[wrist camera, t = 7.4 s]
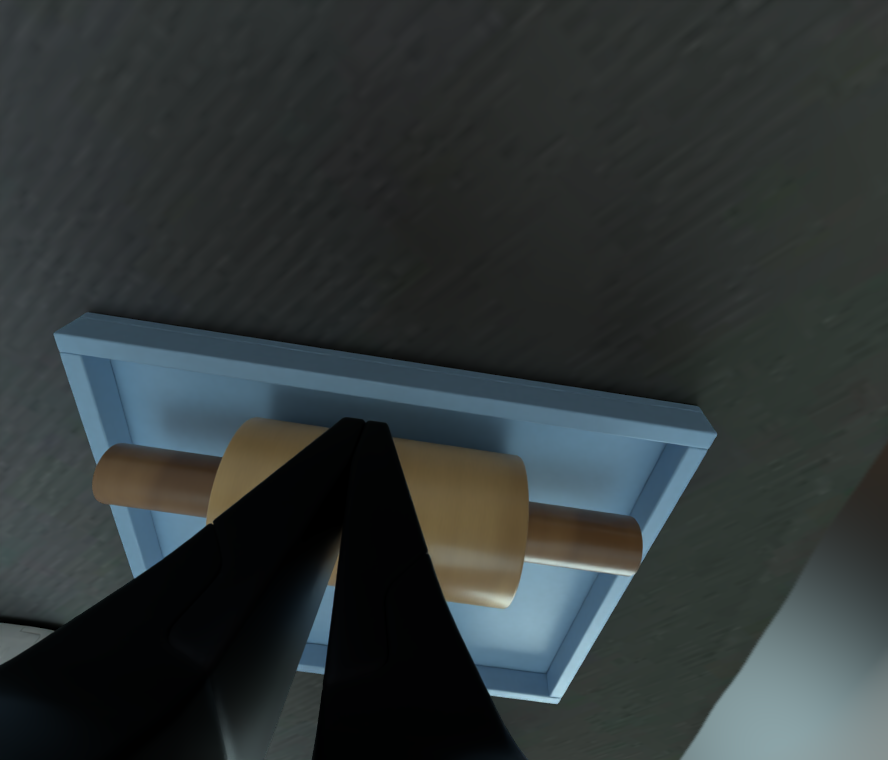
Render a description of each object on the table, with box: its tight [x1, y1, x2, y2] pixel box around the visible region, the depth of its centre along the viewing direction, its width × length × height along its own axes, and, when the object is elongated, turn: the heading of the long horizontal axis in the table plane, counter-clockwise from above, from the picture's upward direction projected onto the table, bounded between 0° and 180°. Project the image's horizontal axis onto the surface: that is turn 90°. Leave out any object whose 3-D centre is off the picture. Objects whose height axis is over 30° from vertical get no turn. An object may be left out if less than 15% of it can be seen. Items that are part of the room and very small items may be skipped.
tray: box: [54, 312, 717, 704], centre depth 21 cm, size 19×21×2 cm
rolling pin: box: [92, 417, 643, 609], centre depth 16 cm, size 5×18×5 cm, turn 82°
